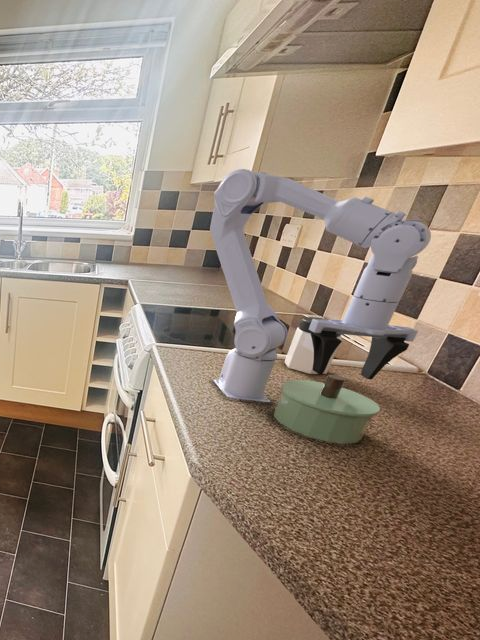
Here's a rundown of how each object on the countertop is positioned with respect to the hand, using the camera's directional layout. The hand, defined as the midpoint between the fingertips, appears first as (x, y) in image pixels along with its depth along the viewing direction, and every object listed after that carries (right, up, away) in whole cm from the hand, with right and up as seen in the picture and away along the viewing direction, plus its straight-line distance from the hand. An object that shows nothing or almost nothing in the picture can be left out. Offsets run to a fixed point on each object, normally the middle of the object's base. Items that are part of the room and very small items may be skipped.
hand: (341, 374), depth 74 cm
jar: (+17, +2, +30) cm, 34 cm away
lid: (-3, -4, -1) cm, 5 cm away
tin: (-4, -10, +2) cm, 10 cm away
